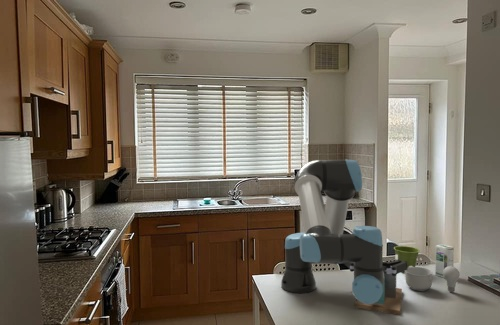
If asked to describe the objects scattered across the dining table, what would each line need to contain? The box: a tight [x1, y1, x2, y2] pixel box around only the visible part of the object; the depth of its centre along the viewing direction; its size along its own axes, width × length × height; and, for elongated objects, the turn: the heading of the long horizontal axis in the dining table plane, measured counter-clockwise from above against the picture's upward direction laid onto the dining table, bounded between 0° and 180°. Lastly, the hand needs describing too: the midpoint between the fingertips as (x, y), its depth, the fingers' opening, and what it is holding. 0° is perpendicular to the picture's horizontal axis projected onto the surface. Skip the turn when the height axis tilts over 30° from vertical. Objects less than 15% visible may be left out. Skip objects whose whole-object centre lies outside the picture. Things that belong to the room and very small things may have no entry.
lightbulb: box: [443, 266, 461, 293], centre depth 151 cm, size 6×6×11 cm
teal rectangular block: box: [375, 277, 385, 304], centre depth 140 cm, size 5×14×12 cm, turn 156°
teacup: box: [404, 266, 433, 292], centre depth 157 cm, size 14×11×8 cm
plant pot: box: [393, 245, 420, 274], centre depth 177 cm, size 12×12×11 cm
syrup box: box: [434, 244, 455, 279], centre depth 170 cm, size 6×6×14 cm
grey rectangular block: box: [385, 272, 397, 299], centre depth 147 cm, size 12×8×10 cm, turn 66°
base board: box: [354, 287, 403, 316], centre depth 144 cm, size 16×23×2 cm
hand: (375, 256), depth 126 cm, fingers open, 13 cm apart
